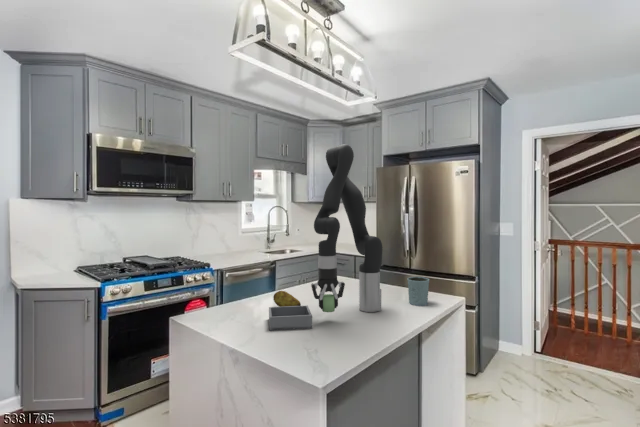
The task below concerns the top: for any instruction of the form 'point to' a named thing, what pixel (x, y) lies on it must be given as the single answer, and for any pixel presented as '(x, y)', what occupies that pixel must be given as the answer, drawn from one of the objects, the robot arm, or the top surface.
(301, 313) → the bin
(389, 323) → the top surface
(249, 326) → the top surface
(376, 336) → the top surface
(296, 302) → the potato
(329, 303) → the cucumber chunk
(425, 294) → the teal cup
